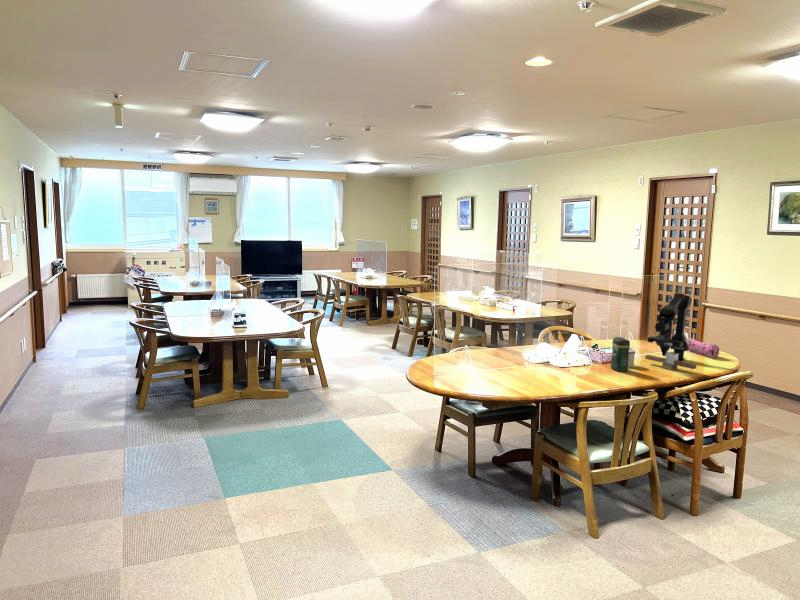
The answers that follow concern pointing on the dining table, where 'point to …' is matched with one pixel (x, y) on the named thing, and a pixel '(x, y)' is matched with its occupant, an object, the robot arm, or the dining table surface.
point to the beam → (670, 366)
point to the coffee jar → (620, 354)
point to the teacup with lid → (631, 357)
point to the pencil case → (703, 348)
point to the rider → (671, 357)
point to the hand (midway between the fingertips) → (663, 356)
